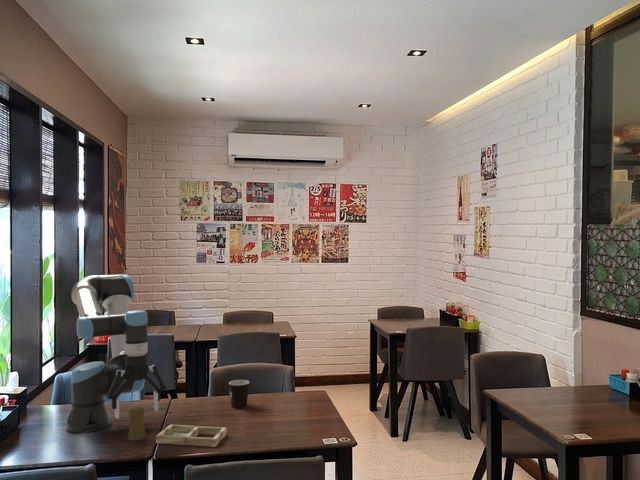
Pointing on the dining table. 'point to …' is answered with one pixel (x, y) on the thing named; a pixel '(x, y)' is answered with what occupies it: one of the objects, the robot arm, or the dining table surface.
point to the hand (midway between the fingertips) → (136, 414)
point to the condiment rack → (191, 435)
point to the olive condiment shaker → (136, 424)
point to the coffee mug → (239, 393)
